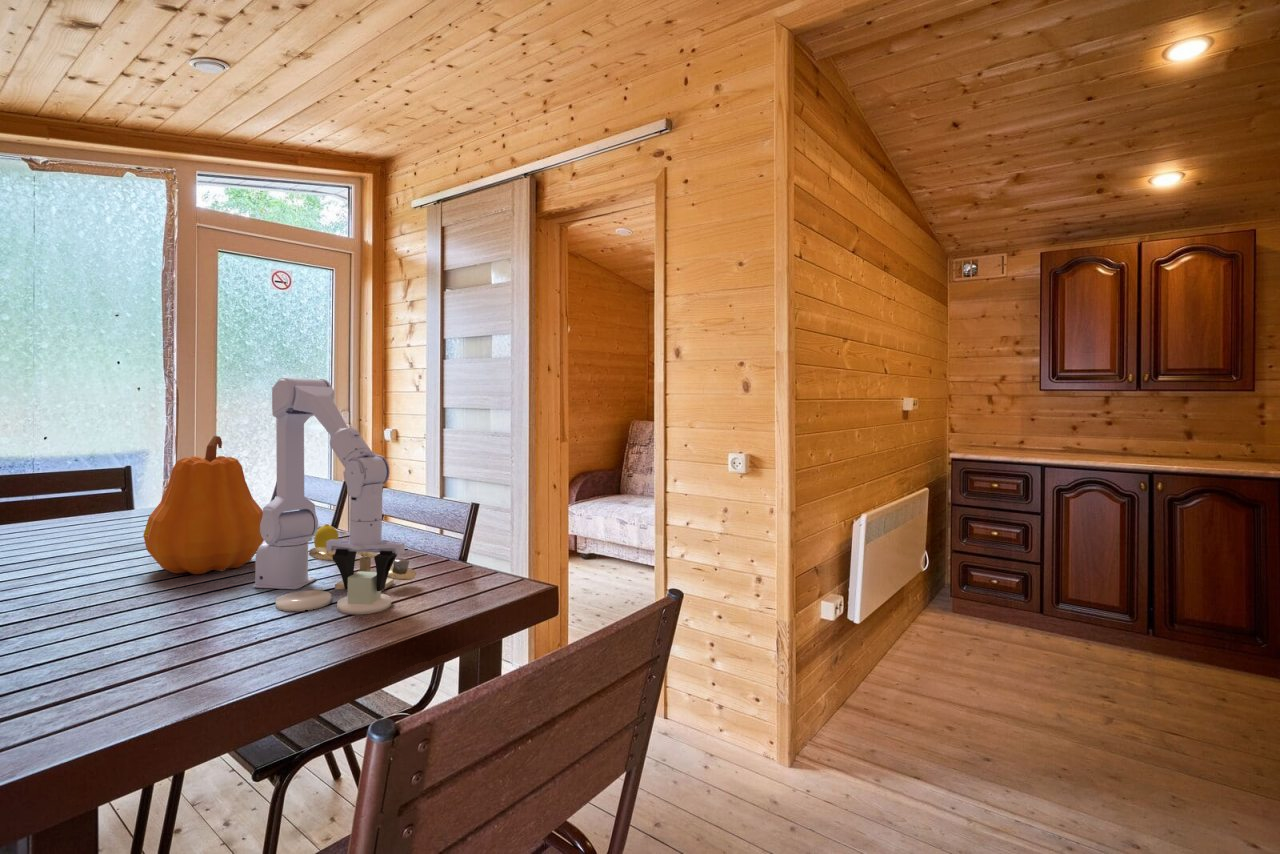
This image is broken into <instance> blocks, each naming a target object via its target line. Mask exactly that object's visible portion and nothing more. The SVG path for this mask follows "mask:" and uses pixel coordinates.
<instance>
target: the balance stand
mask: <svg viewBox="0 0 1280 854" xmlns="http://www.w3.org/2000/svg"><path fill="white" fill-rule="evenodd" d="M371 561H372V558H370V557H366V556H365V557H362V556H361V557H359V571H363V572H371V565H372V564H371V563H372V562H371ZM394 580H395V579H392V578H387V580H386V584H385V589H383V590H382V591H381V592H383V591H385V590H386V589H388V588H389V587H391V586H392V585H394V583H395V581H394ZM334 589H335V590H342V591H343V590H345V587H344V583H343V579H342V580H341V581H339V582H337V583H335V584H334ZM345 591H346V590H345Z"/></svg>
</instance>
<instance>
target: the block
mask: <svg viewBox="0 0 1280 854" xmlns="http://www.w3.org/2000/svg"><path fill="white" fill-rule="evenodd" d="M376 580H377V572H376V571H370V572H363V571H360V570H358V571H357V572H354V574H353V575H351V576H349V577H348V590H347V596H348V597H347V596H346V597H347V603H349V604H370V605H371V604H372V603H374V602H375V601H377V600H378V599H379V598H381V594H382V591H377V589H376Z"/></svg>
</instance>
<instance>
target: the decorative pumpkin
mask: <svg viewBox="0 0 1280 854" xmlns="http://www.w3.org/2000/svg"><path fill="white" fill-rule="evenodd" d="M222 446H223V441H222V437H221V436H219V435H213V437H212V438H211V439H210V440H209V442H208V444H207V445H206V451H205V456H204V458H202V457H200V456H197V455H196V456H190V457H183V458H181V459H179V460H177V461H176V463H175V464H174V466H173V467H172V469H171V472H170V476H169V481H168V484H167V486H166V489H165V492H164V493H163V496H162V497H161V500H160V502H159V503H158V505H157V506H156V508H154V510H153V511H152V512H151V513H150V514H149V516H148V519H147V522H146V525H145V530H144V532H143V540H144V544H145V547H146V548H145V549H146V551H147V552H148V553H149V555H150V556H151V557H152V558H153V559H154V560H155V562H156V563H157V564H158V565H160V567H161V568H163V569H164V570H166V571H169V572H171V573H173V574H177V575H178V574H186V572H187V573H189V574H192V575H203V574H205V573H208V572H211V571H213V570H214V571H216V570H217V572H224V571H226V569H236V568H237V569H238V568H240V567H242V566H244V565H245V564H247V563H248V562H250V561H252V559H253V557H254V556H256V553H257V550H258V548H259V546H260V545H261V544H262V543H264V542H265V541H264V539H263V538H262V536H261V533H260V523H261V520H262V516H263V508H261V507H260V506H259V504H258V503H257V502H256V500H255V499H254V498H253V496H252V493H251V491H250V488H249V486H248V484H247V482H246V478H245V473H244V469H243V466H242V465H241V463H240V461H239V460H238V459H237V458H235V457H232V456H227V457H226V456H223V455H218V456H217V452H218V451H217V449H222V448H223V447H222Z"/></svg>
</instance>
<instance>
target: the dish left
mask: <svg viewBox="0 0 1280 854" xmlns="http://www.w3.org/2000/svg"><path fill="white" fill-rule="evenodd" d="M331 603H332V594H331V593H330V592H328V591H326V590H317V589H315V590H313V589H312V590H309V589H308V590H299V591H293V592H289V593H285V594H282V595H280V596H278V597H277V598H275V608H276V609H277V610H279V611H282V610H283V612H291V611H296V612H306V611H305V610H308V611H312V610H313V609H314V610H317V609H321V608H324V607H327V606H328V605H330V604H331Z"/></svg>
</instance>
